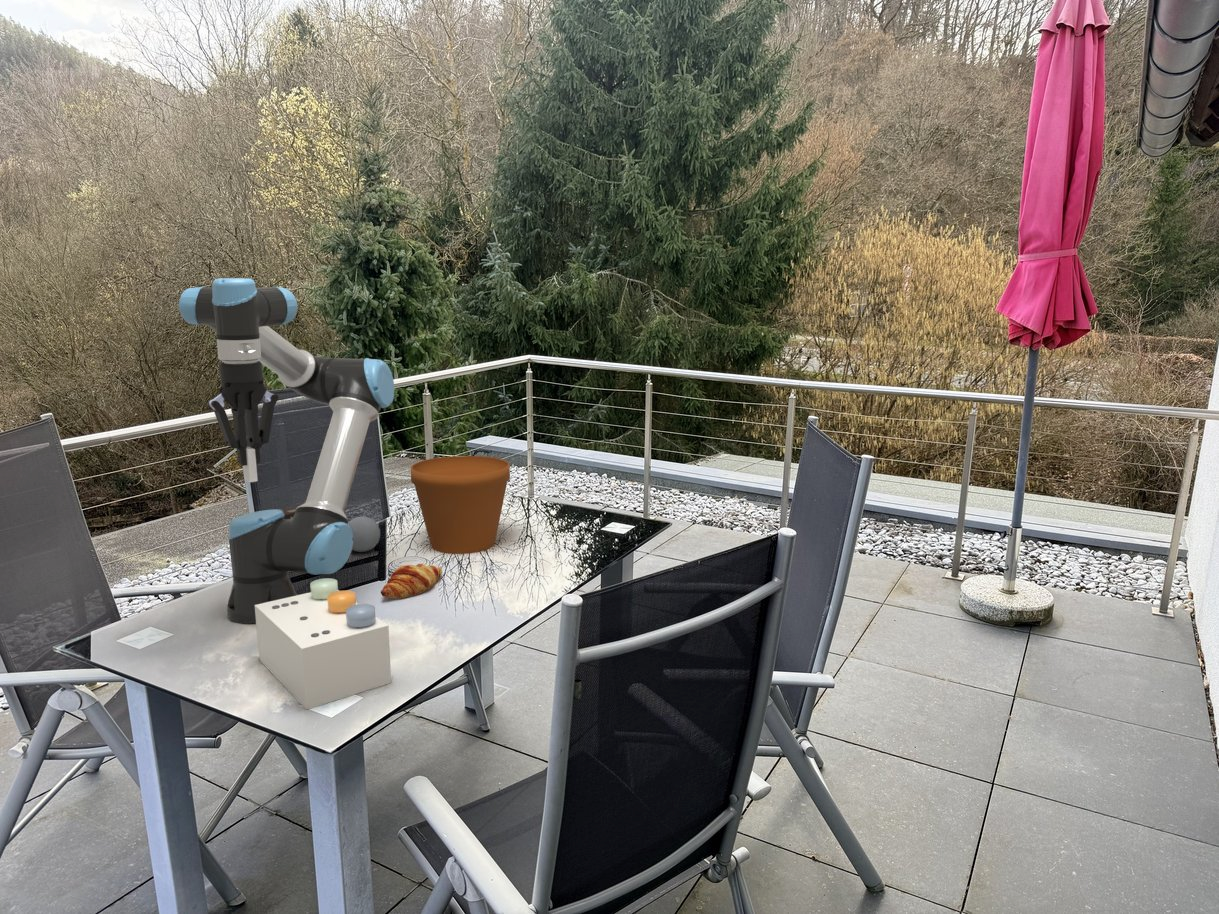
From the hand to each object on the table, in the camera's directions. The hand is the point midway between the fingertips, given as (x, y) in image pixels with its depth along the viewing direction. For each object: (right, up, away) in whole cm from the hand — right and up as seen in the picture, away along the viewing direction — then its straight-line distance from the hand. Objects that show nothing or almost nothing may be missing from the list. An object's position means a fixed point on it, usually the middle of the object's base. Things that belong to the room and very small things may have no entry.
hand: (250, 480), depth 161 cm
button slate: (+24, -29, -8) cm, 39 cm away
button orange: (+19, -28, -1) cm, 33 cm away
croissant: (+22, -29, +41) cm, 55 cm away
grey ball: (+1, -22, +71) cm, 74 cm away
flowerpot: (+28, -21, +77) cm, 85 cm away
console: (+15, -37, -3) cm, 40 cm away
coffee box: (-13, -25, +56) cm, 63 cm away
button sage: (+13, -26, +5) cm, 30 cm away
